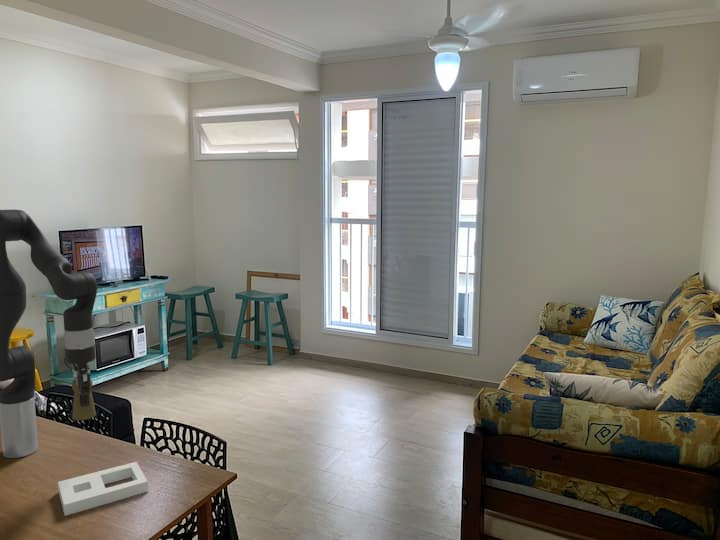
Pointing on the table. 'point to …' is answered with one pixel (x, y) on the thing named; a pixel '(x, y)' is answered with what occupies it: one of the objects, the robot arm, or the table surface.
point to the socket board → (100, 488)
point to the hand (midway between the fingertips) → (83, 402)
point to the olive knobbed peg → (79, 411)
